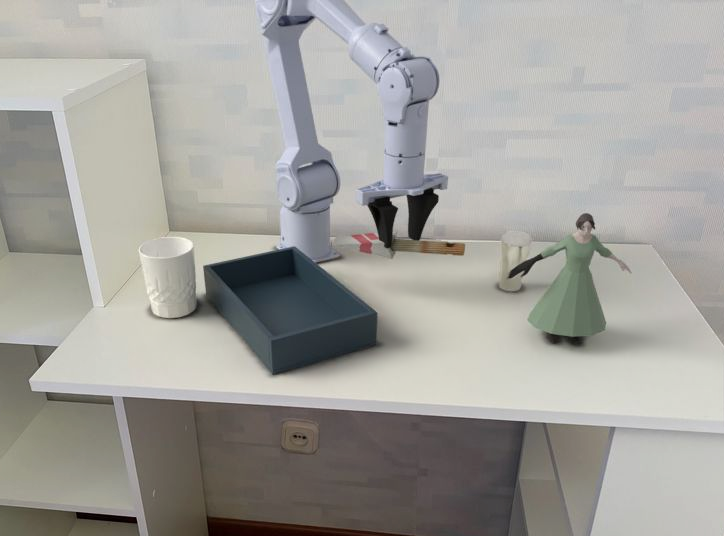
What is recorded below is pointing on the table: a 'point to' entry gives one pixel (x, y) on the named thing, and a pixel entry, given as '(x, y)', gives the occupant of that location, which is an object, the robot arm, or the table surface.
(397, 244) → the paintbrush
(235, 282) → the tub
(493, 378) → the table surface
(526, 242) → the milkshake
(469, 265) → the table surface
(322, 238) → the robot arm
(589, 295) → the character figurine
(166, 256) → the white cup
